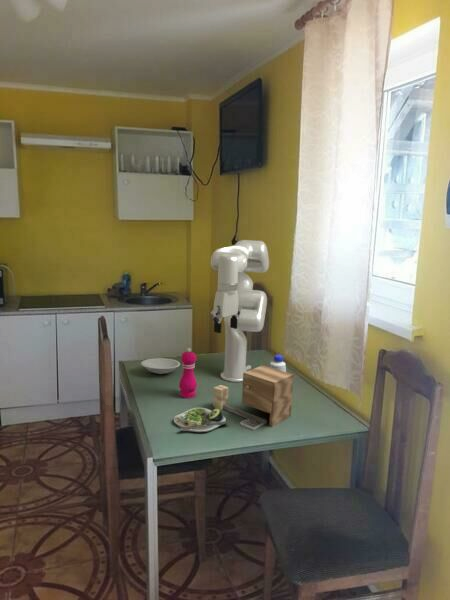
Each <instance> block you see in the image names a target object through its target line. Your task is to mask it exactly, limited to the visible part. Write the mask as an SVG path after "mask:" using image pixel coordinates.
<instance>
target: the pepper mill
mask: <svg viewBox="0 0 450 600" xmlns="http://www.w3.org/2000/svg"><path fill="white" fill-rule="evenodd" d="M180 360H181V363H182V366H181V367H182V369H183V372H182V375H181V378H180V380H179V382H178V383H179V384H178V387H179V389H180V390H179V396H180V397H181V398H183V399H192V398H195V397H196V389H197V387H198V384H197V383H198V382H197V379H196V377H195V374H194V369H195V367H196V366H195V365H196V364H195V363H196V361H197V355H196V354H195V352H194V351H192V348H190V347H188V348H186V351H185V352H183V353H181V357H180Z"/></svg>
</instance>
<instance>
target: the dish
mask: <svg viewBox="0 0 450 600" xmlns="http://www.w3.org/2000/svg"><path fill="white" fill-rule="evenodd" d="M140 365H141V366H143V368H145V369H146V370H147V371H149V372H151V373H154V374H158V375H163V374H169V373H171V372H173V371H174V370H176V369H177V368H178V367H180V365H181V363H180V362H179V361H178V360H175V359H172V358H164V357H161V358H160V357H158V358H157V357H156V358H148V359H147V358H146V359H144V360H142V361H141V362H140Z"/></svg>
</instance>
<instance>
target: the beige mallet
mask: <svg viewBox="0 0 450 600" xmlns="http://www.w3.org/2000/svg"><path fill="white" fill-rule="evenodd" d="M212 400H213V401H212V407H213V408H214V409H216V408H218V409H220V410H221V411H223V410H224V411H227V412H230V413H233V414H235V415H237V416H241V417H243V418H245V419H248V418H250V417H251V418H254V419H257V420H259V421H262V422H264V425H263V426H265V425H267V419H265V418H263V417H260V416H257V415H254V414H252V413H251V412H250V413H249V412H247V411H244V410H242V409H239V408H236V407H233V406H231V405H229V387H228V386H225V385H222V384H220V385H217V386H214V387H213V398H212Z"/></svg>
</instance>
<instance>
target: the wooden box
mask: <svg viewBox="0 0 450 600" xmlns="http://www.w3.org/2000/svg"><path fill="white" fill-rule="evenodd" d="M294 376H295V375H294V374H293V373H289V372H287V371H286V372H284V371H280V370H277V369H273V368H270V366H266V365H263V364H262V365H260V366H258V367H255V368H251V369H249V370H247V371H246V372H244V373H243V381H242V394H241V404H243V405H246V406H248V407H251V408H253V409H256V410H259V411H262V412H264V413H268V414H269V427H274V426H276V425H278V424H279V423H281V422H282V421H285V420H287V419H289V418H291V415H292V403H293V401H292V400H293V387H294Z"/></svg>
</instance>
